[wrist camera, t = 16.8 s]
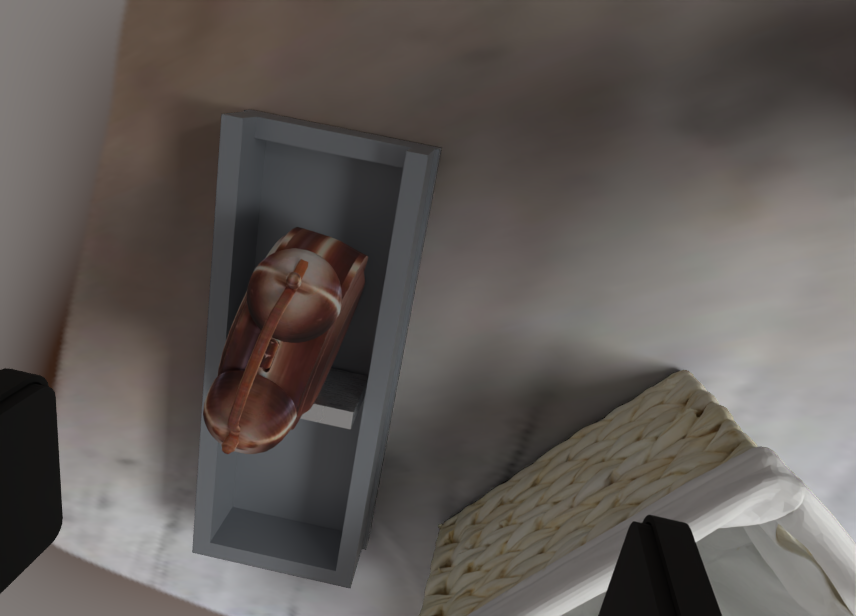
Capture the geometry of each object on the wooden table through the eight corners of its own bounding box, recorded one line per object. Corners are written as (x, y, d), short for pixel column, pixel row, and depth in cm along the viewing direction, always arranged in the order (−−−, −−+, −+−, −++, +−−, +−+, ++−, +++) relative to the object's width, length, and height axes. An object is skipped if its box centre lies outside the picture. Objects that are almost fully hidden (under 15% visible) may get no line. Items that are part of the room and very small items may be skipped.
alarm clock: (313, 216, 40) (240, 232, 25) (383, 246, 40) (353, 279, 25) (253, 368, 42) (153, 466, 27) (320, 397, 42) (258, 508, 27)
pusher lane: (441, 148, 38) (433, 156, 34) (368, 540, 49) (354, 589, 44) (250, 109, 39) (216, 113, 34) (217, 507, 49) (188, 551, 44)
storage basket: (696, 338, 41) (798, 468, 27) (827, 509, 44) (979, 705, 30) (417, 519, 48) (384, 695, 34) (547, 656, 51) (566, 869, 37)
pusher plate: (369, 376, 43) (353, 412, 38) (366, 392, 43) (350, 429, 38) (251, 351, 43) (221, 383, 38) (250, 366, 43) (220, 401, 39)
